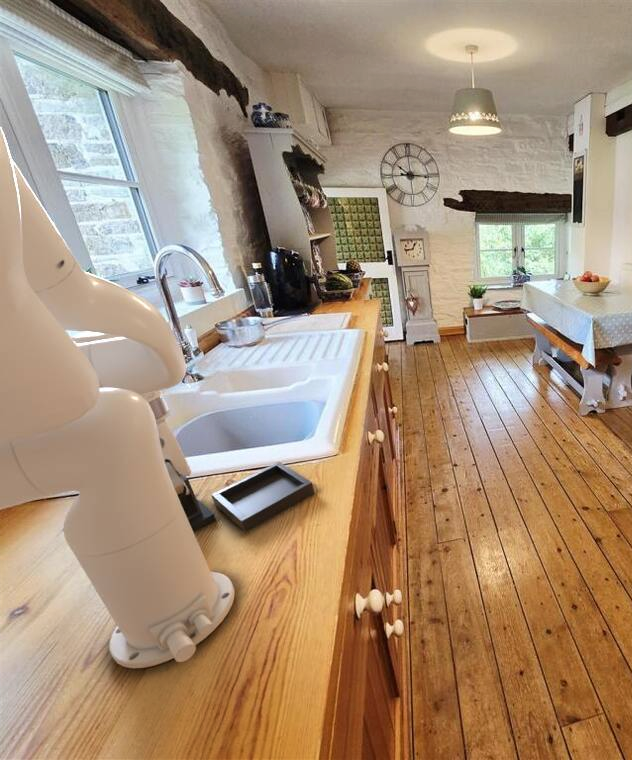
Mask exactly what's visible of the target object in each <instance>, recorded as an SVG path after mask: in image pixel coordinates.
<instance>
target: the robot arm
mask: <svg viewBox="0 0 632 760" xmlns="http://www.w3.org/2000/svg"><path fill="white" fill-rule="evenodd" d="M67 331H72V332H80V333H77V334H75V335H73V336H70V335H69V334H68V333H67ZM186 373H187V363H186V358H185V356H184V353H183V350H182V348H181V346H180V344H179V342H178V340H177V339H176V336H175V334H174V332H173V330H172V328H171V326H170V325H169V322H168V321H167V320H166V318H165V316H164V315H163V314H162V313H161V312H160V311H159V310H158V309H157V308H156V306H154V305H153V304H152V303H151V302H149V301H147V300H146V299H144V298H143V297H142V296H140V295H138V294H136V293H134V292H133V291H131V290H129V289H127V288H125V287H123V286H121V285H119V284H117V283H115V282H113V281H111V280H108V279H106V278H103V277H100V276H98V275H96V274H92V273H90V272H87V271H85V270H84V269H83V268H82V266H81V265H80V263H79V262H78V260H77V258H76V256H75V255H74V253H73V252H72V250H71V249H70V247H69V246H68V244H67V241H65V239H64V238H63V236H62V234H61V233H60V232H59V230H58V228H57V226H56V225H55V223H54V222H53V221H52V219H51V218H50V216H49V214H48V212H47V211H46V210H45V208H44V206H43V205H42V204H41V202H40V200H39V199H38V197H37V196H36V194H35V193H34V191H33V190H32V188H31V186H30V185H29V183H28V181H27V180H26V179H25V177H24V175H23V174H22V172H21V170H20V169H19V167H18V166H17V164H16V163H15V161H14V160H13V159H12V156H11V152H10V148H9V145H8V142H7V139H6V136H5V133H4V131H3V128H2V126H1V125H0V511H1V510H4V509H8V508H12V507H15V506H19V505H22V504H25V503H29V502H32V501H36V500H40V499H43V498H46V497H51V496H57V495H60V494H64V493H67V492H78V493H79V494H78V495H77V496H76V498H75V499H74V501H73V503H72V504H71V506H70V508H69V509H68V512H67V514H66V517H65V518H64V522H63V536H64V538H65V541H66V543H67V545H68V546H69V549H70V550H71V552H72V553H73V555H74V557H75V558H76V560H77V561H78V563H79V565H80V566H81V568H82V570H83V571H84V573H85V575H86V576H87V578H88V580H89V582H90V583H91V585H92V586H93V588H94V589H95V592H96V593H97V595H98V596H99V598H100V599H101V602H102V603H103V605H104V606H105V608H106V609H107V612H108V614H109V615H110V616H111V618H112V620H113V621H114V623H115V625H116V626H115V628H114V630H113V632H112V633H111V636H110V639H109V643H108V647H109V653H110V655H111V657H112V658H113V660H114V661H115V663H116V664H118V665H119V666H121V667H123V668H127V669H144V668H149V667H153V666H157V665H160V664H163V663H166V662H169V661H170V660H173V659H174V660H175V662H176V663H183V662H186V661H188V660H189V659H191V658H192V657H193V656H194V654H195V652H196V651H197V645H199V643H201V642H202V641H204V640H205V639H206V638H207V637H209V635H210V634H212V633H213V632H214V631H215V630H216V629H217V628H218V626H219V625H220V624H221V623H222V622H223V621H224V619H225V618H226V617H227V615H228V614H229V612H230V610H231V608H232V606H233V604H234V600H235V588H234V585H233V582H232V581H231V579H230V578H229V577H228V576H227V575H226V574H223V573H220V572H216V571H211V569H210V567H209V564H208V563H207V560H206V558H205V556H204V553H203V550H202V548H201V546H200V544H199V541H198V540H197V537H196V535H195V533H194V532H195V531H194V532H193V530H192V528H191V526H190V523H189V521H188V519H187V518H188V517H190V516H192V515H194V514H196V513H197V512H198V509H197V507H196V504H195V502H194V499H193V497H192V495H191V492H190V491H189V490H188V488H187V486H186V484H185V483H184V481H183V479H182V477H181V475H183V476H184V477H189V476H191V474H192V470H191V468H190V466H189V463H188V461H187V459H186V457H185V454H184V453H183V450H182V448H181V446H180V444H179V441H178V440H177V438H176V435H175V434H174V432H173V430H172V428H171V427H170V425H169V423H168V422H167V420H166V419H167V418H168V417H169V416H170V415H171V411H170V409H169V406H168V404H167V402H166V399H165V397H164V394H163V392H162V391H163V390H166V389H170V388H173V387H175V386H177V385H179V384H180V383H181V382H182V381H183V380H184V378H185V376H186ZM180 474H181V475H180Z"/></svg>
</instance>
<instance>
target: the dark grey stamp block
mask: <svg viewBox="0 0 632 760" xmlns="http://www.w3.org/2000/svg"><path fill="white" fill-rule="evenodd" d="M179 474H180V473H179ZM180 475H181V474H180ZM181 477H182V479H183V481H184V483H185V484H186V486H187V488H188V490H189V491H190V492H191V495H192V497H193V499H194V502H195V504H196V507H197V509H198V512H197V513H196V514H194V515H192V516H190V517H188V518H187V519H188V521H189V523H190V526H191V528H192V530H193V532H195V531H198V530H199V529H202V528H203V527H205V526H207V525H208V524H209V525H210V523H213V522H215V521H217V520H216V517H215V514H214V513H213V512H212V511H211V510H210V509H209V508H208V507H206V506H205V504H203V503H202V502H201V500H199V499H198V498H197V497H196V495H195V492H194V490H193V487H192V485H191V483H190V479H189V478H187V476H185V477H184V476H183V475H181Z"/></svg>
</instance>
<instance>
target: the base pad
mask: <svg viewBox="0 0 632 760" xmlns="http://www.w3.org/2000/svg"><path fill="white" fill-rule="evenodd" d="M313 494H315V490H314V485H313V482H312V481H311V480H309V479H307V478H305V477H304V476H303V475H301V474H299V473H297V472H296V471H295V470H293V469H291V468H290V467H288V466H287V465H285V464H283V463H282V462H281V461H277V462H275V463H274V464H271V465H269V466H267V467H265V468H263V469H261V470H259V471H256V472H254V473H253V474H250V475H248V476H247V477H244V478H241V479H240V480H238V481H235V482H234V483H232V484H230V485H228V486H226V487H223V488H222V489H220V490H218V491H216V492H213V493H211V494H210V495H211V498H212V501H213V504H214V505H215V506H216V507H217V508H218V509H219V510H220V511H221V512H222V513H223V514H225V515H226V516H227V518H229V519H230V520H231V521H232V522H234V524H236V525H237V526H238V527H239V528H240V529H241V530H242V531H244V533H247V532H249V531H251V530H252V529H254V528H256V527H257V526H259V525H261V524H263V523H264V522H266V521H268V520H269V519H271V518H274V516H275V517H276V516H277V515H279V514H280V513H282V512H283V511H286V510H287V509H289V508H291V507H292V506H294V505H295V504H297V503H299V502H301V501H303V500H304V499H306V498H308V497H309V496H311V495H313Z"/></svg>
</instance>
